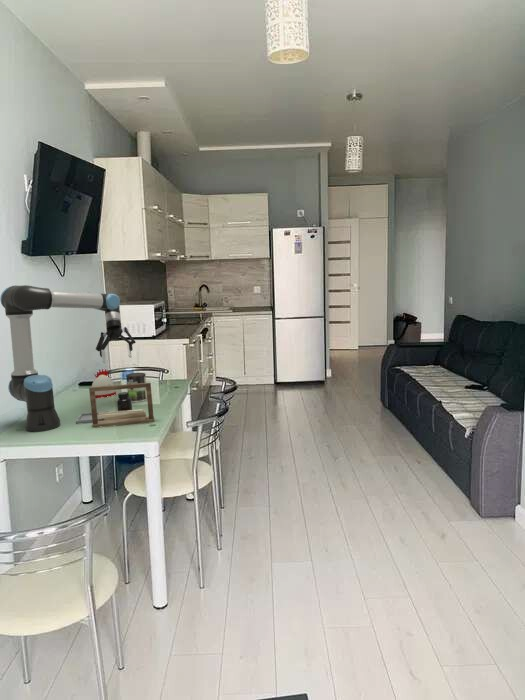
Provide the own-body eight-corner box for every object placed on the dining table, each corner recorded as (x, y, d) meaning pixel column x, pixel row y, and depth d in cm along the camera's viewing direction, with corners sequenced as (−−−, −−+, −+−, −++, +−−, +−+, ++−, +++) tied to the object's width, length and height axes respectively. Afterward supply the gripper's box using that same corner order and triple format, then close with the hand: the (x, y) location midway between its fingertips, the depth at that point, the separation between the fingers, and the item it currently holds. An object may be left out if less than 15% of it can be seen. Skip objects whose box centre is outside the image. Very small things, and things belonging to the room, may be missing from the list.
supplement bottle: (120, 416, 262) (118, 391, 260) (134, 415, 262) (132, 391, 260) (116, 420, 255) (114, 395, 253) (130, 419, 255) (128, 394, 253)
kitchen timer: (119, 394, 309) (117, 369, 307) (95, 399, 302) (92, 372, 299) (111, 391, 321) (108, 366, 319) (87, 395, 313) (85, 369, 311)
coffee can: (141, 402, 287) (138, 376, 285) (124, 402, 291) (122, 376, 289) (151, 398, 297) (149, 372, 295) (135, 397, 300) (132, 372, 298)
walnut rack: (153, 422, 248) (150, 384, 245) (92, 427, 244) (88, 389, 242) (154, 418, 254) (150, 381, 251) (94, 424, 250) (90, 386, 248)
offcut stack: (145, 420, 247) (144, 411, 247) (97, 424, 245) (96, 415, 244) (146, 417, 253) (145, 408, 252) (99, 421, 250) (98, 412, 249)
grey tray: (105, 421, 254) (105, 418, 253) (76, 424, 252) (75, 420, 252) (109, 414, 267) (108, 411, 266) (81, 416, 265) (80, 413, 264)
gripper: (139, 319, 287) (143, 356, 279) (93, 330, 288) (96, 367, 280) (134, 314, 280) (138, 351, 272) (87, 324, 281) (90, 362, 273)
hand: (117, 359), depth 276 cm, fingers open, 13 cm apart
